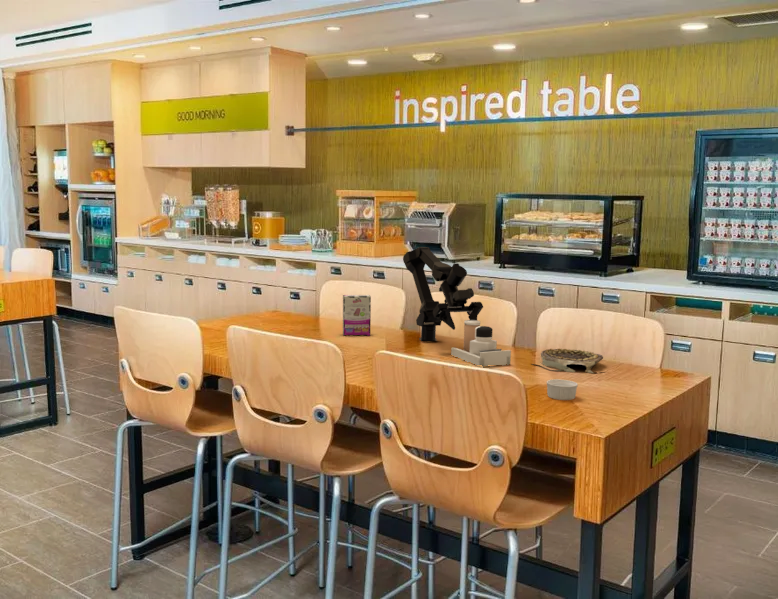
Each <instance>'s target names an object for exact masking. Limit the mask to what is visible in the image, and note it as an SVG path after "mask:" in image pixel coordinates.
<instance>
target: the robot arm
mask: <svg viewBox="0 0 778 599" xmlns="http://www.w3.org/2000/svg"><path fill="white" fill-rule="evenodd" d="M402 259H403V260H402V262H403V264H404V266H405V268H406V270H408V271H409V273H411V274H412V277H413V281H414V284H415V287H416V291H417V294H418V297H419V300H420V308H419V314H418V316H417V318H416V319H415V322H416V326H419V327H420V328H421V330H420V331H421V332H420V337H419V341H420V340H421V341H437V342H438V340H437V338H436V333H437V330H436V329H437V327H438V326H440V327H441V325H442V323H445V324H446V325H447V326H448V327H449V328H450V329H452V330H453V331H454V330H455V329H456V325H455V323H454V320H453V317H452V315H451V313H464V312H465V313H466V314H467V315H468V316H467V317H468V320H478V315H479V314H480V313H481V311H482V310H483V308H484V305H483V303H482V302H481V301H471V302H470V304H469V305H466V304H467V303H468V300H469V299H471V298H473V297H474V296H475V294H474V289H473V288H467V289H459V288H458V287H459V286H461V285H462V284H463V282H464V280H465V278H466V276H467V275H468V272H467V270H466V269H465V268H464V266H461V265H460V263H453V264H452V265H450V264H448V263H445V262H442V261H441V260H440V259H439V258H438V257H437V256H436V255H435V254H434V252H432V251H431V248H430V247H428V246H427V247H426V246H418V247H416V248H415V249H413V250H410V251H407V252H405V254H404V255H403V257H402ZM426 266H427V267H428V268H429V269H430V270H431V276H432V278H433V279H434V280H435V281H436V282H441V284H440V286H439V288H438V291H439V292H442V293H443V296H444V298H445V299H444V300H443V302H441V303H440V301H439V300H434V298H433V295H432V292H431V289H430V286H429V282H428V279H427V275H426V272H425V270H424V269H425V267H426ZM421 341H420V342H421Z"/></svg>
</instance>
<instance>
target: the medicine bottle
mask: <svg viewBox="0 0 778 599" xmlns="http://www.w3.org/2000/svg"><path fill="white" fill-rule="evenodd" d="M475 338H476V339H475V340H472V341H470V352H469V353H472V354H474V355H477V356H480V350H492V349H497V340H495V339H493V327H490V326H487V325H480V326H478V327H476V328H475Z"/></svg>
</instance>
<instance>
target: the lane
mask: <svg viewBox="0 0 778 599" xmlns="http://www.w3.org/2000/svg"><path fill="white" fill-rule="evenodd" d="M450 351H451V353H450V354H451V355H453V356H455V357H458V358H461V359H463V360H465V361H464V362H466V361H467V362H466V363H468V362H471V363H473V364H476V365H482V366H483V367H482V368H485V367H484V366H488V365H502V366H510V365H511V357H512V356H511V355H512V350H510V349H507V350H502V348H496V349H492V350H480V356H477V355H474V354H472V353H469V352H466V351H464V349H461V348H457V347H451V350H450ZM451 355H450V356H451ZM453 356H452V357H453ZM455 357H454V358H455ZM458 358H457V359H458ZM463 360H462V361H463ZM471 363H470V364H471ZM473 364H472V365H473ZM506 364H507V365H506ZM509 364H510V365H509ZM476 365H475V366H476Z"/></svg>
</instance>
